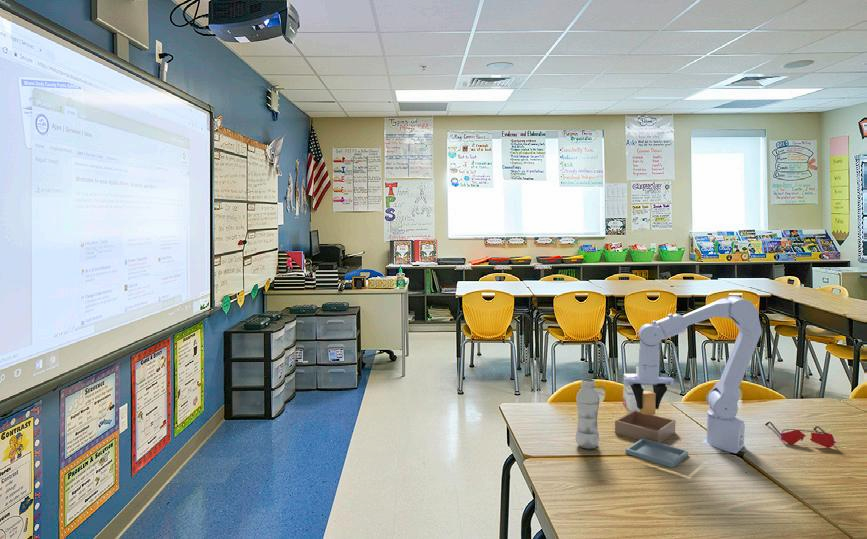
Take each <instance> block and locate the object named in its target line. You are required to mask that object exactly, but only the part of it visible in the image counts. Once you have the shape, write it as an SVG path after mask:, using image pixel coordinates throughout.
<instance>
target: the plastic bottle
mask: <svg viewBox="0 0 867 539" xmlns="http://www.w3.org/2000/svg"><path fill="white" fill-rule="evenodd" d="M580 386H581V388H580V389H579V390H578V392H577V393H576V397H575V399H576V406H577V407H576V408H577V427H576V428H577V429H576V432H575V441H576V444H577V446H578V447H580V448H583V449H587V450H592V449H597V447H598V446H599V444H600V443H599V442H600V434H599V428H598V425H599V424H598V414H599V413H598V412H599V408H600V407H599V406H600V395H599V393H598V392H597V391H596V390H595V389H596V380H595V379H592V378H582V379H581V385H580Z"/></svg>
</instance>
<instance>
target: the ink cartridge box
mask: <svg viewBox="0 0 867 539" xmlns="http://www.w3.org/2000/svg"><path fill="white" fill-rule="evenodd" d="M635 371H636V372H635V373H623V378H626V377H636V376H639V366H638V365H635ZM641 386H642V388H643V389H644V391H646V389H645V387H646V385H641ZM622 388H623V389H622V391H623V393H622V406H625V407H626V408H627V409H628V410H629V411H630V412H632V411H634V410H636V411H640V409H639V408H638V407H637V403H636V399H635V395H634V393H633V390H632V388H631V386H630V385H624V384H623V387H622Z"/></svg>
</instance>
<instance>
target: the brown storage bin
mask: <svg viewBox="0 0 867 539" xmlns="http://www.w3.org/2000/svg"><path fill="white" fill-rule="evenodd" d="M676 422H677V421H676V420H675V419H671V418H667V417H663V416H661V415H660V416H658V415H657V414H654V415H645V414H642V413H640V411H636V410H634V411H630V412H628V413H626V414H625V415H623V416H621V417H619V418H617V419H616V420H615V421H614V433H615V434H616V435H621V436H623V437H628V438H632V439H635V440H637V441H639V440H640V439H642V438H644V439H648V440H651V441H655V442H658V443H663V442H664V441H666V440H668V439H669V438H670V437H672V436H673V435H674V434H676Z"/></svg>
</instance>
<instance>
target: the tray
mask: <svg viewBox="0 0 867 539" xmlns="http://www.w3.org/2000/svg"><path fill="white" fill-rule="evenodd" d="M625 454H626V455H629V456H633V457H636V458H639V459H642V460H645V461H650V462H652V463H655V464H658V465H662V466H664V467H668V468H670V469H673V468H674V467H676V466H677V465H679V464H680V462H682V461H683V460H684V459H685V458H687V457H688V456H689V450H686V449H682V448H679V447H676V446H672V445H668V444H665V443H663V442H661V443H658V442H655V441H651V440H648V439H644V438H642V439H640V440H637V441H636V442H634V443H633V444H630V446H628V447H627V448H625Z"/></svg>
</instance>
